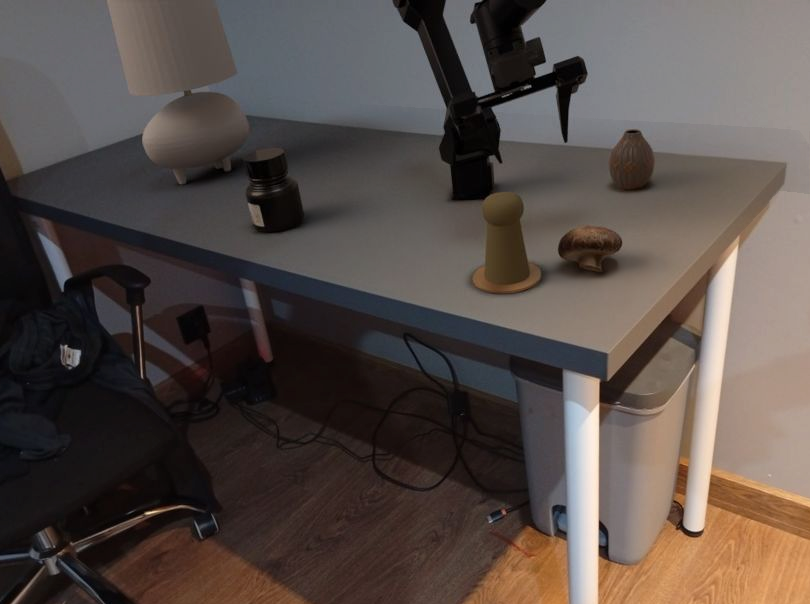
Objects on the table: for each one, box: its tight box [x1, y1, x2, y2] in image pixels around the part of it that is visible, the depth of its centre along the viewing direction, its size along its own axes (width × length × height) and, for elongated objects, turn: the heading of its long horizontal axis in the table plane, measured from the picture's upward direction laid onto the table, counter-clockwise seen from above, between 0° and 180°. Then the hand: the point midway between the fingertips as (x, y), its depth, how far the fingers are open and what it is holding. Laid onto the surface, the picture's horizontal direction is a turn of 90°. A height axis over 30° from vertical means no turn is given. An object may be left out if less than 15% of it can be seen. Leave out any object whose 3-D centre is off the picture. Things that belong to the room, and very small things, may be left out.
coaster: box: [472, 261, 542, 295], centre depth 97 cm, size 9×9×1 cm
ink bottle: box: [242, 147, 305, 233], centre depth 123 cm, size 10×9×12 cm
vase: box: [608, 128, 656, 190], centre depth 117 cm, size 7×7×9 cm
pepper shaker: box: [481, 191, 530, 285], centre depth 94 cm, size 6×6×11 cm
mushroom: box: [557, 224, 623, 273], centre depth 95 cm, size 8×8×6 cm
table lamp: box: [106, 0, 250, 185], centre depth 146 cm, size 23×22×40 cm
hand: (533, 152), depth 102 cm, fingers open, 9 cm apart
